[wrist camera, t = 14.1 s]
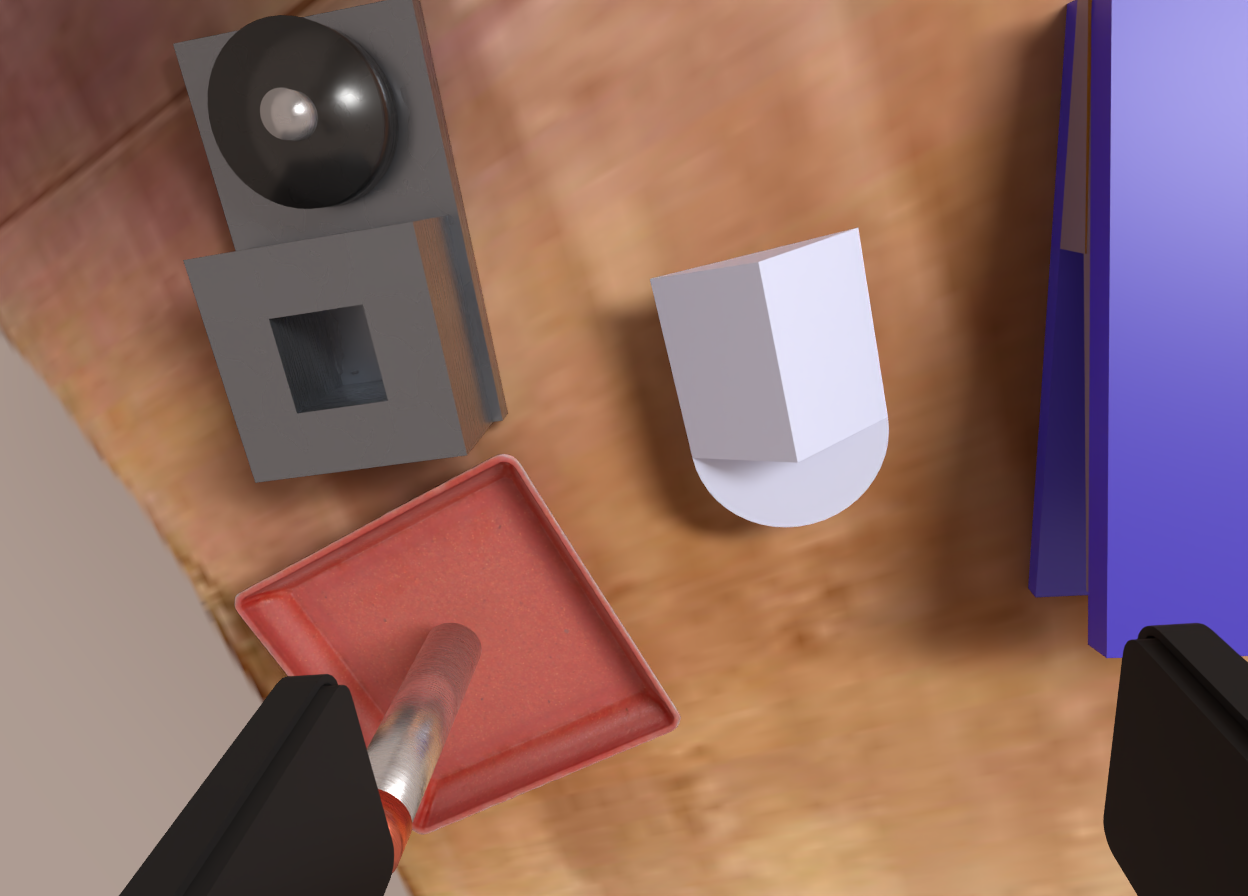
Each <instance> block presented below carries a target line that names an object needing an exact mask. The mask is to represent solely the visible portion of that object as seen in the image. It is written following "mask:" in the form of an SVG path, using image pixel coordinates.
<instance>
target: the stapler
mask: <svg viewBox="0 0 1248 896" xmlns="http://www.w3.org/2000/svg"><path fill="white" fill-rule="evenodd" d="M1028 589H1029V590H1030V591H1031V592H1032V594H1033V595H1034V596H1035V597H1054V596H1075V595H1088V645H1090V646H1091V647H1092V648H1094V649H1095V650H1097V651H1098V652H1099V653H1101V654H1102V655H1103V656H1105V657H1106V658H1122V657H1123V650H1124V646H1125V644H1126V643H1127V641H1129V640H1133V639H1137V638H1138V634H1139V632H1140V631H1141V629H1142V628H1144V627H1146V626H1151V625H1168V624H1185V623H1201V624H1204V625H1206V626H1207V627H1209V628H1210V629H1212V630H1213V631H1214V632H1215V633H1216V634H1217V635H1218V636H1219V637H1220V638H1222V639H1223V640H1224V641H1225V642H1226V643H1227V644H1228V645H1229V646H1230V647H1231V648H1232V649H1234V650H1235V651H1236V652H1237V653H1238V654H1239V655H1240V656H1248V0H1075V1H1072V2H1070V3H1068V4H1067V15H1066V30H1065V45H1064V60H1063V75H1062V90H1061V105H1060V120H1059V135H1058V150H1057V165H1056V180H1055V195H1054V210H1053V225H1052V240H1051V255H1050V270H1049V285H1048V300H1047V315H1046V330H1045V345H1044V360H1043V375H1042V390H1041V405H1040V420H1039V435H1038V450H1037V465H1036V480H1035V495H1034V510H1033V525H1032V540H1031V555H1030V570H1029V585H1028Z"/></svg>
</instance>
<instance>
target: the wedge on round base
mask: <svg viewBox="0 0 1248 896" xmlns="http://www.w3.org/2000/svg"><path fill="white" fill-rule="evenodd" d="M650 282H651V286H652V290H653V294H654V298H655V303H656V307H657V311H658V315H659V319H660V324H661V328H662V332H663V336H664V340H665V345H666V349H667V353H668V357H669V361H670V366H671V370H672V374H673V378H674V382H675V387H676V391H677V395H678V399H679V403H680V408H681V412H682V416H683V420H684V424H685V429H686V433H687V437H688V441H689V445H690V450H691V454H692V458H693V461H694V464H695V467H696V470H697V472H698V474H699V476H700V479H701V481H702V482H703V484H704V485H705V487H706V488H707V490H708V491H709V492H710V493H711V494H712V496H713V497H714V498H715V499H716V500H717V501H718V502H719V503H721V504H722V505H723V506H724V507H725V508H727V509H728V510H730V511H731V512H733V513H734V514H736V515H738V516H740V517H742V518H744V519H746V520H749V521H752V522H755V523H758V524H762V525H768V526H773V527H797V526H804V525H809V524H813V523H816V522H819V521H822V520H825V519H827V518H830V517H832V516H834V515H836V514H838V513H839V512H841V511H843V510H844V509H846V508H847V507H849V506H850V505H851V504H852V503H854V502H855V501H856V500H857V499H858V498H859V497H860V496H861V495H862V494H863V493H864V492H865V491H866V490H867V489H868V487H869V486H870V484H871V483H872V482H873V480H874V479H875V477H876V475H877V473H878V472H879V470H880V468H881V465H882V463H883V460H884V457H885V454H886V449H887V445H888V435H889V425H888V415H887V408H886V402H885V396H884V389H883V383H882V377H881V370H880V364H879V358H878V351H877V345H876V339H875V332H874V326H873V319H872V313H871V307H870V300H869V294H868V288H867V281H866V275H865V269H864V262H863V256H862V249H861V243H860V237H859V230H858V228H855V229H851V230H847V231H842V232H838V233H834V234H830V235H826V236H822V237H818V238H814V239H810V240H806V241H802V242H798V243H794V244H790V245H786V246H782V247H777V248H773V249H769V250H765V251H761V252H757V253H753V254H749V255H745V256H741V257H737V258H733V259H729V260H725V261H721V262H717V263H712V264H708V265H704V266H700V267H696V268H692V269H688V270H684V271H680V272H676V273H672V274H668V275H664V276H660V277H656V278H651V279H650Z"/></svg>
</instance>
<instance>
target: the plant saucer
mask: <svg viewBox="0 0 1248 896" xmlns="http://www.w3.org/2000/svg"><path fill="white" fill-rule="evenodd" d="M235 608H236V610H237V612H238V613H239V615H240V616H241V617H242V619H243V620H244V621H245V622H246V624H247V625H248V626H249V627H250V629H251V630H252V631H253V632H254V634H255V635H256V636H257V637H258V639H259V640H260V641H261V643H262V644H263V645H264V646H265V648H266V649H267V650H268V651H269V653H270V654H271V655H272V656H273V657H274V659H275V660H276V661H277V663H278V664H279V665H280V666H281V668H282V669H283V670H284V671H285V673H286V674H287V675H288V676H301V675H318V674H329V675H332V676H333V677H334V678H335V679H336V680H337V683H338V685H345V686H347V687H348V688H349V690H350V692H351V695H352V698H353V702H354V705H355V709H356V712H357V716H358V719H359V723H360V727H361V730H362V734H363V737H364V741H365V744H366V748H367V747H368V746H369V744H370V742H371V740H372V738H373V736H374V734H375V733H376V731H377V729H378V727H379V725H380V723H381V721H382V720H383V718H384V716H385V714H386V712H387V710H388V708H389V707H390V705H391V703H392V701H393V699H394V697H395V695H396V694H397V692H398V690H399V688H400V686H401V684H402V682H403V681H404V679H405V677H406V675H407V673H408V671H409V669H410V668H411V666H412V664H413V662H414V660H415V658H416V656H417V654H418V653H419V651H420V649H421V647H422V645H423V643H424V641H425V640H426V638H427V636H428V634H429V632H430V631H431V630H432V629H433V628H434V627H436V626H438V625H440V624H443V623H458V624H461V625H464V626H466V627H468V628H469V629H471V630H472V631H473V632H474V633H475V634H476V635H477V637H478V638H479V640H480V643H481V646H482V653H481V657H480V659H479V662H478V664H477V667H476V669H475V671H474V674H473V676H472V679H471V681H470V684H469V686H468V688H467V691H466V693H465V696H464V698H463V701H462V703H461V706H460V708H459V710H458V713H457V715H456V718H455V720H454V723H453V725H452V727H451V730H450V732H449V735H448V737H447V740H446V742H445V744H444V747H443V749H442V752H441V754H440V757H439V759H438V762H437V764H436V766H435V769H434V771H433V774H432V776H431V779H430V781H429V783H428V786H427V788H426V791H425V793H424V796H423V798H422V800H421V803H420V805H419V808H418V810H417V813H416V815H415V818H414V820H413V822H412V830H413V831H415V832H417V833H419V834H427V833H430V832H433V831H435V830H438V829H440V828H442V827H444V826H446V825H449V824H452V823H454V822H457V821H459V820H462V819H464V818H466V817H468V816H471V815H473V814H475V813H478V812H480V811H483V810H485V809H488V808H490V807H492V806H494V805H497V804H499V803H502V802H505V801H507V800H509V799H512V798H514V797H516V796H518V795H520V794H523V793H525V792H528V791H530V790H533V789H536V788H538V787H540V786H542V785H544V784H546V783H549V782H551V781H554V780H557V779H560V778H562V777H564V776H567V775H569V774H571V773H573V772H576V771H578V770H581V769H583V768H585V767H588V766H590V765H592V764H594V763H597V762H599V761H602V760H604V759H607V758H610V757H612V756H614V755H616V754H618V753H621V752H624V751H626V750H628V749H631V748H633V747H636V746H638V745H640V744H642V743H645V742H648V741H651V740H653V739H655V738H657V737H659V736H662V735H665V734H667V733H669V732H671V731H673V730H674V729H675V728H677V727H678V725H679V722H680V719H681V716H680V714H679V712H678V710H677V709H676V707H675V706H674V704H673V702H672V701H671V699H670V698H669V696H668V695H667V693H666V692H665V690H664V689H663V687H662V686H661V684H660V682H659V681H658V679H657V678H656V676H655V674H654V673H653V671H652V670H651V668H650V667H649V665H648V664H647V662H646V661H645V659H644V657H643V656H642V654H641V653H640V651H639V649H638V648H637V646H636V645H635V643H634V642H633V640H632V638H631V637H630V635H629V634H628V632H627V631H626V629H625V628H624V626H623V625H622V623H621V621H620V620H619V618H618V616H617V615H616V614H615V612H614V610H613V609H612V607H611V606H610V604H609V602H608V601H607V599H606V598H605V596H604V595H603V593H602V592H601V590H600V588H599V587H598V585H597V584H596V582H595V581H594V579H593V578H592V576H591V574H590V573H589V571H588V570H587V568H586V567H585V565H584V564H583V562H582V561H581V559H580V557H579V556H578V554H577V553H576V551H575V549H574V548H573V546H572V545H571V543H570V542H569V540H568V538H567V537H566V535H565V534H564V532H563V530H562V529H561V527H560V526H559V524H558V523H557V521H556V519H555V518H554V516H553V515H552V513H551V511H550V510H549V508H548V507H547V505H546V503H545V502H544V500H543V499H542V497H541V496H540V494H539V492H538V491H537V489H536V488H535V486H534V485H533V483H532V481H531V480H530V478H529V477H528V475H527V473H526V472H525V470H524V468H523V467H522V465H521V464H520V462H519V461H518V460H517V459H516V458H515V457H513V456H511V455H509V454H500V455H496V456H494V457H492V458H490V459H488V460H486V461H484V462H483V463H481V464H479V465H477V466H475V467H473V468H471V469H469V470H467V471H466V472H464V473H462V474H460V475H458V476H456V477H454V478H452V479H450V480H448V481H446V482H444V483H443V484H441V485H439V486H437V487H435V488H433V489H431V490H429V491H428V492H426V493H424V494H422V495H420V496H418V497H416V498H414V499H412V500H410V501H409V502H407V503H405V504H403V505H401V506H399V507H397V508H396V509H394V510H392V511H390V512H388V513H386V514H384V515H383V516H381V517H379V518H377V519H375V520H374V521H372V522H370V523H368V524H366V525H364V526H363V527H361V528H359V529H357V530H355V531H353V532H352V533H350V534H348V535H346V536H344V537H342V538H341V539H339V540H337V541H335V542H333V543H331V544H330V545H328V546H326V547H324V548H322V549H320V550H318V551H317V552H315V553H313V554H311V555H309V556H307V557H305V558H304V559H302V560H300V561H298V562H296V563H294V564H292V565H290V566H288V567H287V568H285V569H283V570H281V571H279V572H277V573H276V574H274V575H272V576H270V577H268V578H266V579H264V580H262V581H260V582H258V583H256V584H255V585H253V586H251V587H249V588H247V589H245V590H244V591H242V592H240V593H239V594H237V595H236V597H235Z"/></svg>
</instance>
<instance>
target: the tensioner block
mask: <svg viewBox="0 0 1248 896" xmlns="http://www.w3.org/2000/svg"><path fill="white" fill-rule="evenodd" d="M173 46H174V49H175V52H176V55H177V59H178V62H179V65H180V69H181V72H182V75H183V79H184V82H185V85H186V88H187V92H188V95H189V98H190V102H191V105H192V108H193V111H194V115H195V118H196V121H197V125H198V128H199V131H200V135H201V138H202V141H203V144H204V148H205V151H206V154H207V158H208V161H209V164H210V168H211V171H212V174H213V177H214V181H215V184H216V187H217V191H218V194H219V197H220V201H221V204H222V207H223V210H224V214H225V217H226V220H227V224H228V227H229V230H230V234H231V237H232V240H233V243H234V247H235V250H236V251H233V252H227V253H222V254H216V255H210V256H205V257H199V258H193V259H188V260H183V261H184V264H185V267H186V270H187V273H188V276H189V279H190V282H191V286H192V289H193V292H194V295H195V298H196V301H197V304H198V307H199V310H200V313H201V316H202V319H203V323H204V326H205V329H206V332H207V335H208V338H209V341H210V344H211V347H212V350H213V353H214V356H215V360H216V363H217V366H218V369H219V372H220V375H221V378H222V381H223V384H224V387H225V390H226V393H227V397H228V400H229V403H230V406H231V409H232V412H233V415H234V418H235V421H236V424H237V427H238V430H239V434H240V437H241V440H242V443H243V446H244V449H245V452H246V455H247V458H248V461H249V464H250V467H251V471H252V474H253V477H254V480H255V483H257V482H265V481H272V480H280V479H288V478H295V477H303V476H311V475H318V474H326V473H334V472H341V471H349V470H357V469H364V468H372V467H380V466H388V465H395V464H403V463H411V462H418V461H426V460H434V459H441V458H449V457H457V456H464V455H468V453H469V452H470V451H471V449H472V448H473V447H474V446H475V444H476V443H477V442H478V440H479V439H480V438H481V437H482V435H483V434H484V433H485V431H486V430H487V429H488V428H489V426H490V425H491V424H492V422H495V421H502V420H503V419H504V418H505V417H506V415H507V414H508V412H507V407H506V403H505V398H504V393H503V389H502V384H501V379H500V375H499V370H498V365H497V360H496V356H495V351H494V346H493V342H492V337H491V332H490V328H489V323H488V318H487V314H486V309H485V304H484V300H483V295H482V290H481V285H480V281H479V276H478V271H477V267H476V262H475V257H474V253H473V248H472V243H471V239H470V234H469V229H468V224H467V220H466V215H465V210H464V206H463V201H462V196H461V192H460V187H459V182H458V178H457V173H456V168H455V163H454V159H453V154H452V149H451V145H450V140H449V135H448V131H447V126H446V121H445V117H444V112H443V107H442V103H441V98H440V93H439V88H438V84H437V79H436V74H435V70H434V65H433V60H432V56H431V51H430V46H429V42H428V37H427V32H426V27H425V23H424V18H423V13H422V9H421V4H420V1H419V0H386V1H381V2H376V3H371V4H366V5H361V6H356V7H351V8H346V9H341V10H336V11H332V12H327V13H322V14H317V15H312V16H307V17H296V16H286V15H278V16H270V17H266V18H262V19H259V20H256V21H254V22H252V23H250V24H248V25H246V26H245V27H243V28H242V29H240V30H238V31H233V32H228V33H224V34H219V35H214V36H209V37H204V38H199V39H194V40H189V41H184V42H179V43H174V44H173Z"/></svg>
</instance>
